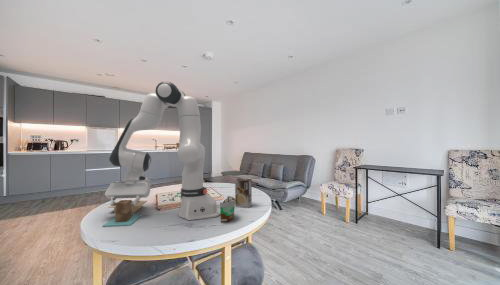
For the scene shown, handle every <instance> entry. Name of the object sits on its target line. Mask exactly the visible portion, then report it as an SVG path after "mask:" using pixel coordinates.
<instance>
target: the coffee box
mask: <svg viewBox="0 0 500 285" xmlns="http://www.w3.org/2000/svg"><path fill="white" fill-rule="evenodd" d="M252 181H253V180H252V179H251V178H239V177H238V178H237V179H235V181H234V183H235V184H234V186H235V189H234V191H235V193H234V194H235V197H234V198H235V200H236V204H235V207H238V206H241V208H248V207H249V208H250V207H251V206H252V205H253V204H252V203H253V202H252V195H253V194H252V190H253V189H252ZM251 204H252V205H251Z"/></svg>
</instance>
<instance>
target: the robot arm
mask: <svg viewBox="0 0 500 285" xmlns="http://www.w3.org/2000/svg"><path fill="white" fill-rule="evenodd" d="M140 106H141V107H140V110H139V112H138V114H137V115H136V117H134V118H131V119H130V120H129V121H128V122H127V124H126V125H125V128H124V129H123V131H122V133H121V135H120V137H119V139H118V141H117V142H116V145H115V146H114V148H113V149H112V151H111V152H110V154H109V159H108V160H109V162H110V163H111V165H113V167H121V168H122V167H123V168H127V169H128V170H127V172H126V173H125V175H124V177H123V179H122V180H120V181H117V180H115V181H113V182H111V183H110V184H109V186H108V187H107V189H106V191H105V192H104V196H105V198H106V199H108V200H110V201H111V202H110V206H115V203H117V202H116V200H117V199H134V200H132V203H131V205H136V203H137V202H138V201H141V198H143V199H144V198H145V199H146V198H148V197H149V196H150V193H151V185H152V184H151V181H150V179H149V178H148V177H147V176H145V174H146V172H147V171H148V170H149V167H150V165H151V162H152V157H151V155H150V154H149V153H148V152H146V151H142V150H136V149H131V148H127V145H128V143H129V141H130V139H131V137H132V136H133V134H134V133H135V132H139V131H148V130H154V129H156V128H158V127H159V126H160V124H161V121H162V119H163V115H164V112H165V110H166V108H168V109H177V112H178V121H179V124H178V125H179V142H178V149H177V158H178V159H179V160H180V162H182V163H184V165H183V169H182V172H181V188H180V200H181V201H180V207H179V208H180V209H179V212H178V216H179V218H182V219H184V220H187V221H193V220H201V219H212V218H217V217H219V216H221V214H220V206H218V204H217V201H216V199H215V198H214V197H212V196H211V195H209V194H208V188H207V187H205V186H204V169H205V160H206V158H205V157H206V147H205V146H204V145H203V144H202V142H201V133H202V125H201V124H202V123H201V113H200V108H199V104H198V101H197V99H196V98H195V97H193V96H190V95H186V94H185V93H184V91H183V90H182V89H181V88H180V87H178V85H175V84H174V83H173V82H171V81H161V82H159V83H158V84H157V85H156V87H155V92H154V93H153V92H151V93H150V92H149V93H148V94H146V96H145V97H144V99H143V101H142V104H141V105H140Z"/></svg>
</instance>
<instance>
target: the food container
mask: <svg viewBox="0 0 500 285" xmlns="http://www.w3.org/2000/svg"><path fill="white" fill-rule="evenodd" d="M235 204H236V200H235V197H233V196H229V195H228V196H227V197H226V198H225V199H224V200H223V202H220V203H219V207H220V223H221V224H222V223H223V224H225V223H230V222H232V221H233V220H234V217H235V207H236V206H235Z"/></svg>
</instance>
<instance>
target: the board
mask: <svg viewBox="0 0 500 285" xmlns="http://www.w3.org/2000/svg"><path fill="white" fill-rule="evenodd" d="M141 217H142V214H132V218H131V219H129V220H128V221H127V222H115V217H113V218H112V219H110V220H109V221H107V222H106V223H104V224H103V225H102V228H105V227H106V228H107V227H111V228H112V227H126V226H129V227H130V226H132V225H133V224H134V223H136V221H138V220H139V219H140V218H141Z"/></svg>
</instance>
